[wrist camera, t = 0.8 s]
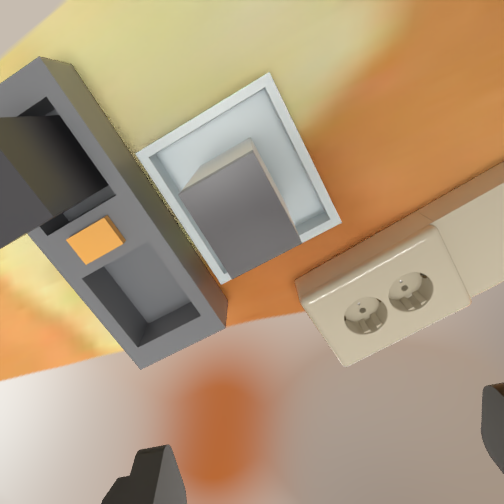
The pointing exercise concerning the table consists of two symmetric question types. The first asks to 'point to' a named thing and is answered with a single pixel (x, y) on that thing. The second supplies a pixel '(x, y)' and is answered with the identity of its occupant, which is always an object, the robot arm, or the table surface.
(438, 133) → the table surface
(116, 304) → the power strip
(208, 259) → the tray
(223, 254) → the plug
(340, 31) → the table surface
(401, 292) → the electrical outlet
